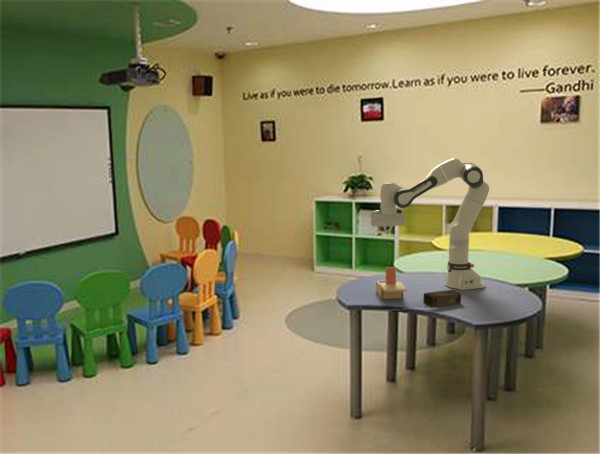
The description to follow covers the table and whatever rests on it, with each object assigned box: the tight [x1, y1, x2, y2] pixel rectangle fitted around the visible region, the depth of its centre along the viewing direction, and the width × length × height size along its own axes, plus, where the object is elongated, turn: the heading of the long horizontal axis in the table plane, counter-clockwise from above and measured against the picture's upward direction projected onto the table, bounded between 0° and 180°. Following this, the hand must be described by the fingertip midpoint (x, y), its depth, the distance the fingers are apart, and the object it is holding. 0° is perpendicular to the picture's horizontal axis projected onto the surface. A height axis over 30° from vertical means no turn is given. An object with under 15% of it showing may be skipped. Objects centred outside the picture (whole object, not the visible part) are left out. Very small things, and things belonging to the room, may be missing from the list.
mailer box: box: [375, 279, 404, 300], centre depth 310 cm, size 14×12×7 cm
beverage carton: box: [422, 289, 462, 309], centre depth 296 cm, size 8×19×7 cm, turn 111°
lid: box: [379, 266, 408, 292], centre depth 301 cm, size 14×12×10 cm
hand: (387, 233), depth 328 cm, fingers closed
